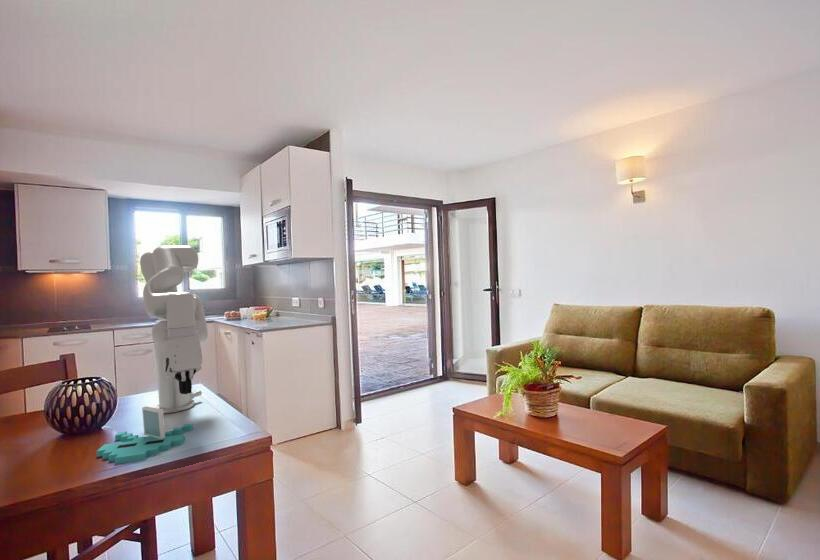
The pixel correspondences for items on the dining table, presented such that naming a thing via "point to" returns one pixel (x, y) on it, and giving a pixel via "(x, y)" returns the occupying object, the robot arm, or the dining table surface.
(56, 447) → the dining table surface
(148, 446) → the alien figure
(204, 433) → the dining table surface
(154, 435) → the tile
